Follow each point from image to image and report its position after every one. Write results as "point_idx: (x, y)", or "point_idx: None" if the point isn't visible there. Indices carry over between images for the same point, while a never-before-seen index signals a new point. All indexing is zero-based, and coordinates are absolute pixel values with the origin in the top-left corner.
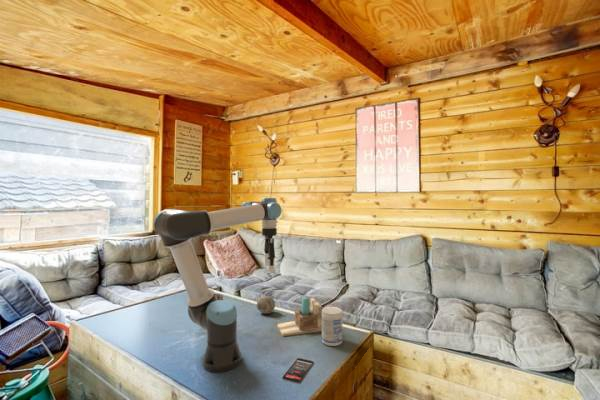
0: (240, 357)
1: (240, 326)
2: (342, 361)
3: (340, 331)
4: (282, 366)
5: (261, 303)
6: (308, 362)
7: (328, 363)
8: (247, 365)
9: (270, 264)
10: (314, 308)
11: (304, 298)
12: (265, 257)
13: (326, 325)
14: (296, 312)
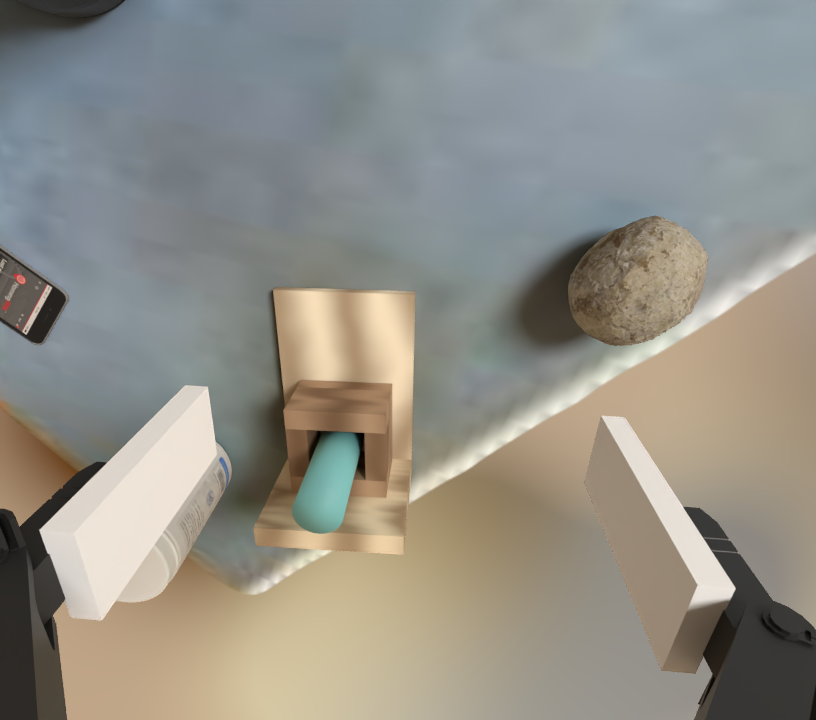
0: (21, 2)
1: (478, 60)
2: (47, 437)
3: None
4: (11, 215)
5: (616, 250)
6: (34, 325)
7: (34, 390)
8: (16, 46)
9: (81, 476)
10: None
11: (319, 508)
12: (654, 524)
13: None
14: (359, 416)
